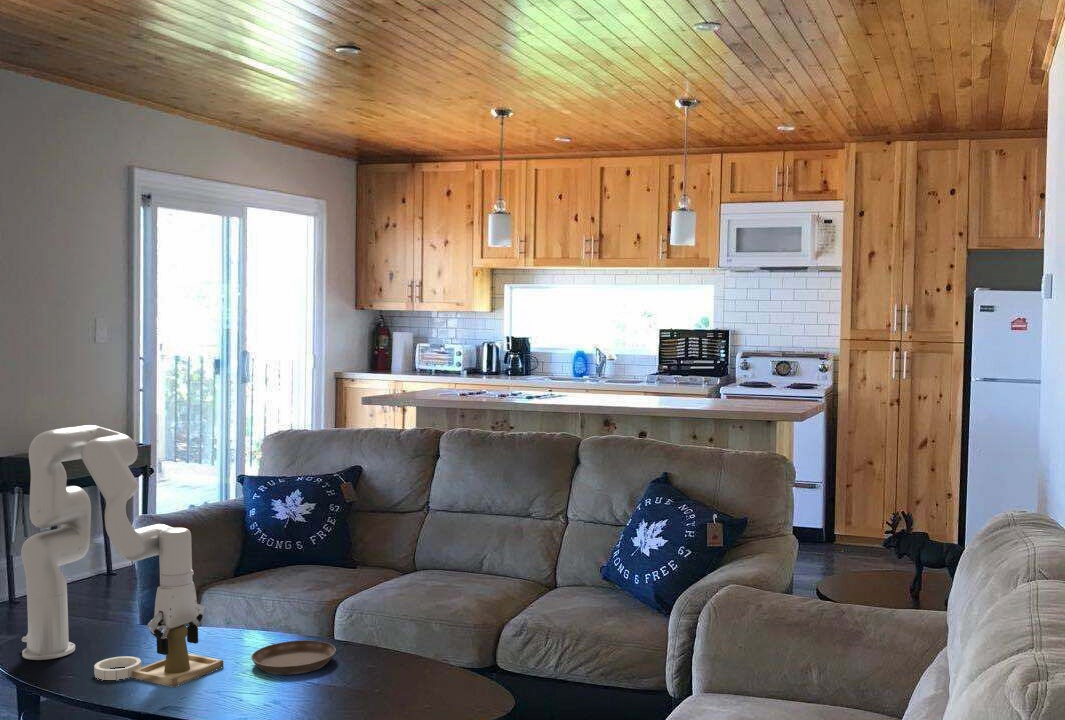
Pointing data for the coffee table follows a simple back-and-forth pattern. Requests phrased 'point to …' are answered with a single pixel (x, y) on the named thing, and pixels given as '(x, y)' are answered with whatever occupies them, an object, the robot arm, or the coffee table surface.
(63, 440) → the robot arm
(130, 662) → the holder ring
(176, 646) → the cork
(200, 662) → the tray
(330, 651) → the plant saucer
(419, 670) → the coffee table surface
